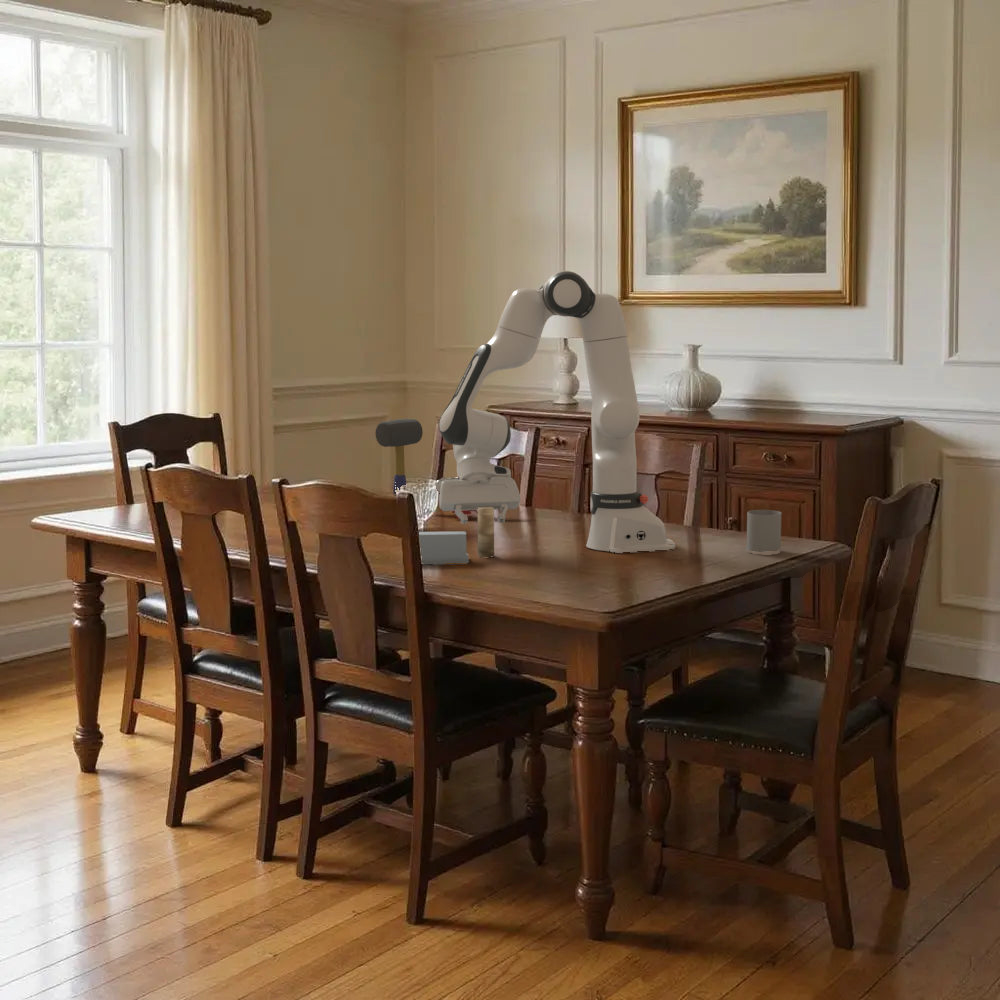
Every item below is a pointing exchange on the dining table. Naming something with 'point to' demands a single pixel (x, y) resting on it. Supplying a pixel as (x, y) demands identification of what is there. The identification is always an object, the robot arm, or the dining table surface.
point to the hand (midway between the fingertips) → (483, 521)
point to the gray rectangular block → (443, 547)
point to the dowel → (485, 531)
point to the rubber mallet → (399, 442)
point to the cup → (763, 530)
